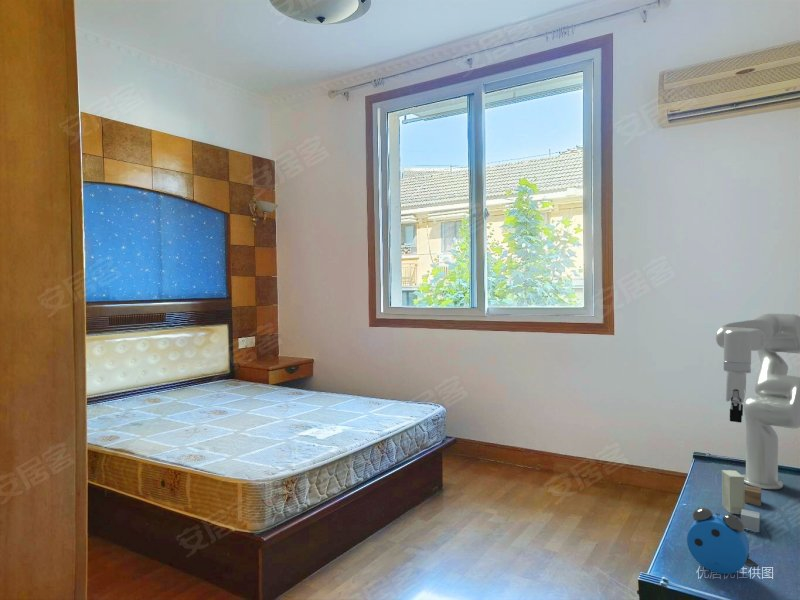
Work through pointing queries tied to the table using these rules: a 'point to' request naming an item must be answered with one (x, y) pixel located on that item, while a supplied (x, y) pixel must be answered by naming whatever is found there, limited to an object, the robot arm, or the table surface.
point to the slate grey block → (750, 519)
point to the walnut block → (752, 495)
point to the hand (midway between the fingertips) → (736, 418)
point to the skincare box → (732, 491)
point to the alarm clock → (718, 541)
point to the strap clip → (750, 562)
